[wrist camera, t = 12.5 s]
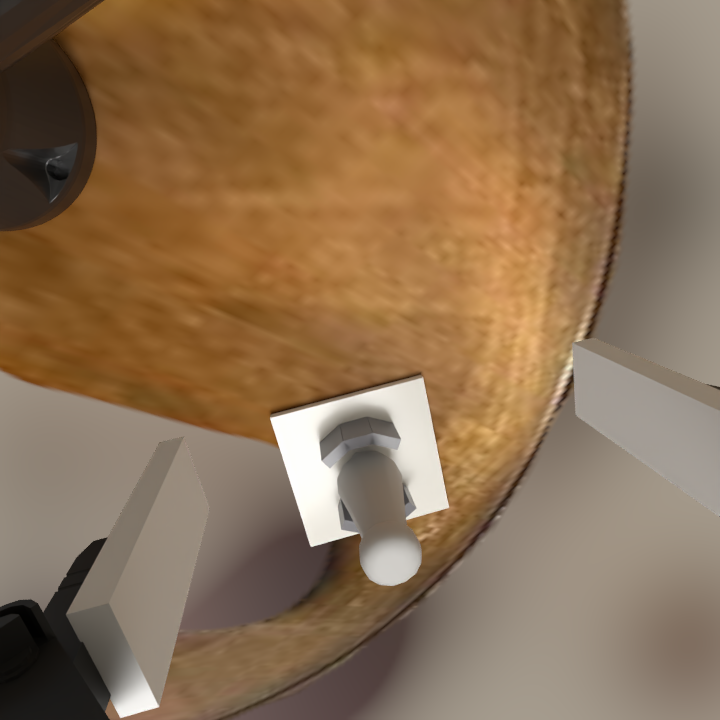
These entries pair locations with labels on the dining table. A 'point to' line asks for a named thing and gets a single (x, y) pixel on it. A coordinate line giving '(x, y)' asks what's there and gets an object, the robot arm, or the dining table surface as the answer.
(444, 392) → the dining table surface
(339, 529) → the square base with blocks
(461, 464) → the dining table surface
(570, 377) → the dining table surface
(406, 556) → the salt shaker
